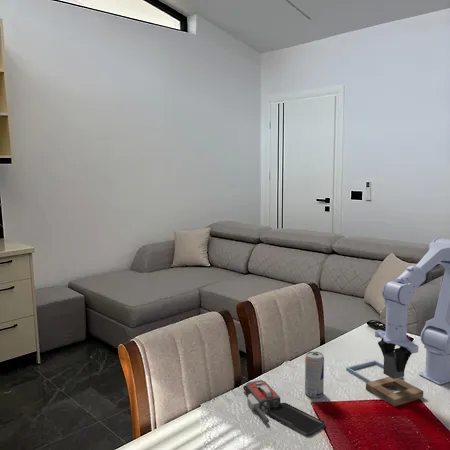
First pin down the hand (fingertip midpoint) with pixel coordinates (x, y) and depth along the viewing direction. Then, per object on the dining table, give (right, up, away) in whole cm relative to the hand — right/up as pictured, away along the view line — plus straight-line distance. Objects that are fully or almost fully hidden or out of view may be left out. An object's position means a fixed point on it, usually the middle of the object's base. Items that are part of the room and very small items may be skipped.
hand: (394, 368), depth 132 cm
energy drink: (-23, -8, +1) cm, 25 cm away
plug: (0, -2, 0) cm, 2 cm away
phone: (-31, -10, -12) cm, 35 cm away
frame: (-2, -6, +14) cm, 15 cm away
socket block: (0, -8, +1) cm, 8 cm away
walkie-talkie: (-39, -9, -4) cm, 40 cm away
